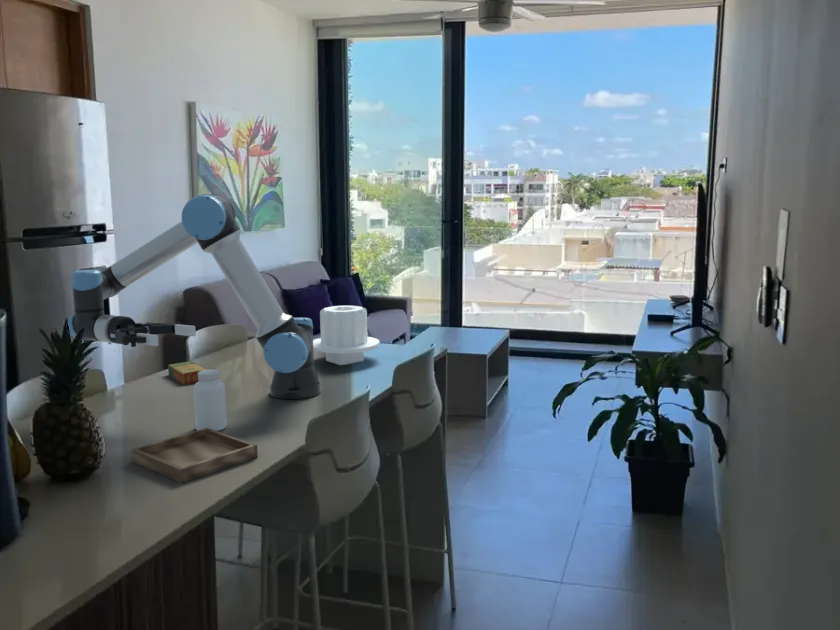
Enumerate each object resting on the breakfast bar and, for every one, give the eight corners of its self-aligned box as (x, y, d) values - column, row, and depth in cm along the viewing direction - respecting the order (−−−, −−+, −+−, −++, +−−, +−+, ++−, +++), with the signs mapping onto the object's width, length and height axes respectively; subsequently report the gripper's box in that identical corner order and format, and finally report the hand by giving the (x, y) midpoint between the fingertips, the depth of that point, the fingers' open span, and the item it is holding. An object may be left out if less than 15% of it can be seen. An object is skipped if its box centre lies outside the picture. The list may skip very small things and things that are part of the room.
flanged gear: (354, 350, 289) (353, 301, 286) (393, 361, 270) (392, 309, 266) (296, 360, 273) (294, 308, 270) (333, 372, 254) (332, 317, 251)
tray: (207, 439, 188) (206, 427, 188) (257, 457, 176) (257, 444, 175) (132, 461, 173) (131, 449, 173) (181, 483, 160) (180, 469, 160)
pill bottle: (215, 434, 192) (212, 376, 190) (189, 431, 195) (185, 374, 192) (233, 424, 200) (230, 369, 197) (207, 422, 202) (203, 367, 200)
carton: (183, 386, 241) (182, 372, 240) (168, 376, 254) (167, 363, 253) (209, 381, 245) (208, 368, 245) (192, 372, 258) (191, 360, 258)
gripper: (151, 335, 218) (209, 341, 209) (79, 352, 196) (141, 359, 187) (149, 309, 217) (208, 314, 208) (77, 323, 195) (139, 329, 186)
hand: (176, 335), depth 197 cm, fingers open, 13 cm apart
